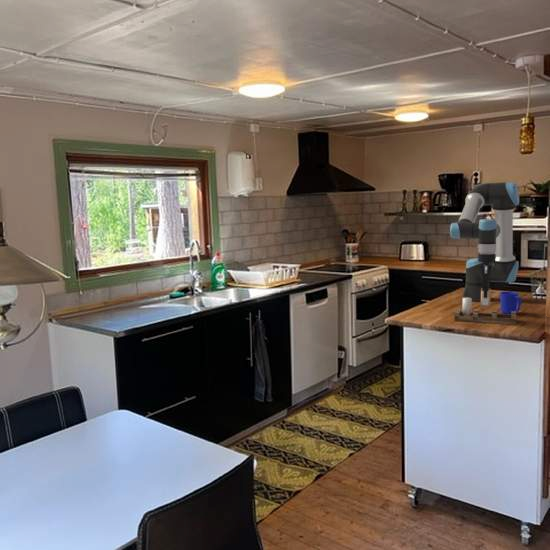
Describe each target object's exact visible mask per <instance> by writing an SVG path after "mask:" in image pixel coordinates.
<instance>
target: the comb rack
mask: <svg viewBox="0 0 550 550" xmlns="http://www.w3.org/2000/svg"><path fill="white" fill-rule="evenodd" d="M454 322H463V323H464V322H465V323H466V322H467V323H481V324H483V323H484V324H500V325H512V326H513V325H514V326H515V325H517V312H515V311H511V314H504V313H498V310H496V309H494V310H492V312H491V313H489V312H488V313H487V312H480V309H473V311H472V312H471V316H462V308H459V307H458V308H456V309H455V311H454Z"/></svg>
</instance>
